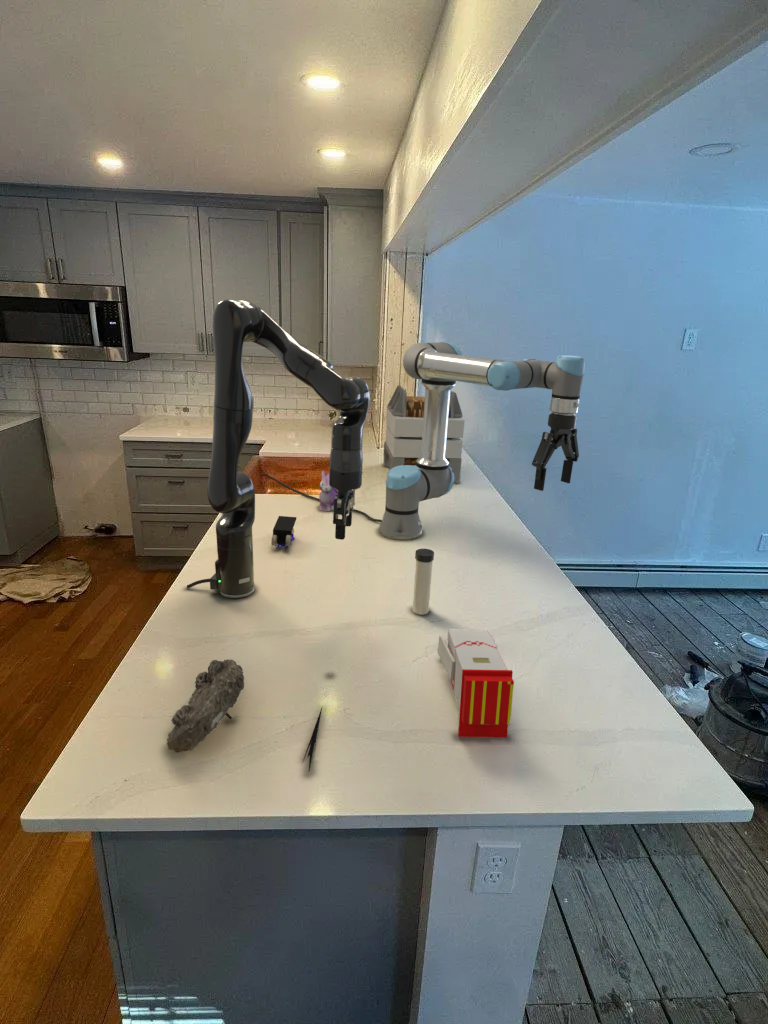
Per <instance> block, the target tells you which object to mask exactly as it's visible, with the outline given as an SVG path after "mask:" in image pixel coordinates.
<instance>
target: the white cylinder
mask: <svg viewBox="0 0 768 1024" xmlns="http://www.w3.org/2000/svg"><path fill="white" fill-rule="evenodd" d="M433 561H434V560H433ZM433 561H431V562H420V561H417V560H416V559H415V566H414V567H415V569H414V580H413V581H414V583H413V597H412V598H413V599H412V612H413V613H414V614H415V615H422V616H423V615H426V614H428V613H429V612H430V599H431V598H430V597H431V585H432V575H433V574H432V573H433Z"/></svg>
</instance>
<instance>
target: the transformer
mask: <svg viewBox="0 0 768 1024" xmlns="http://www.w3.org/2000/svg"><path fill="white" fill-rule="evenodd" d="M407 394H408V393H407V390H406V389H404V388H403V387H402V385H399V384H398V385H397V386H396V388H395V390H394V392H393V394H392V395H391V398H390V400H389V402H388V404H387V405H386V413H385V414H386V415H385V423H386V428H385V438H384V442H383V466H384V467H388V468H389V470H390V469H392V468H394V467H396V466H401V465H404V466H405V465H413V466H416V461H417V459H418V458H420V457H421V449H422V434H423V419H424V404H425V396H415V395H414V396H413V395H412V396H411V395H407ZM464 429H465V419H464V418H463V411H462V408H461V405H460V402H459V398H458V395H457V392H455V391H453V390H451V392H450V404H449V416H448V428H447V441H446V453H445V458H446V459H447V461H448V462H449V466H450V467H451V469H452V473H454V484H455V483H456V484H459V483H461V472H462V461H463V460H462V453H463V442H464V441H463V440H462V439H463V438H464V431H465V430H464Z"/></svg>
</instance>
